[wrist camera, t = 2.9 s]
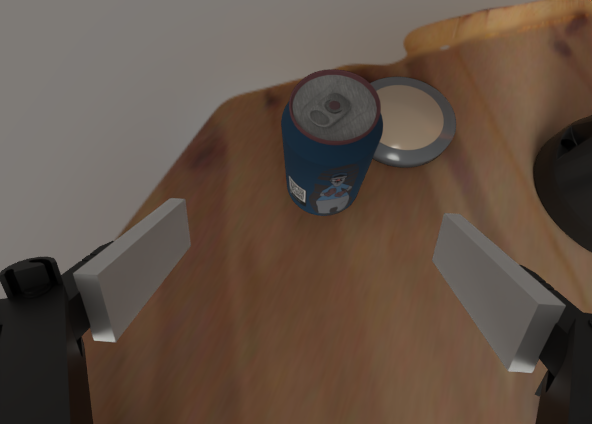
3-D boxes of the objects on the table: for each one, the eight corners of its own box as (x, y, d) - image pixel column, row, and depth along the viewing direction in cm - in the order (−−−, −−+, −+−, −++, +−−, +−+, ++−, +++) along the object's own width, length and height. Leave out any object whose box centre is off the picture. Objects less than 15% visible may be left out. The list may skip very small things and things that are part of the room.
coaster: (429, 78, 34) (434, 69, 33) (466, 157, 30) (473, 150, 29) (338, 93, 34) (339, 84, 32) (364, 175, 30) (366, 169, 29)
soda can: (322, 146, 31) (334, 46, 20) (370, 189, 29) (414, 105, 18) (273, 186, 30) (256, 101, 18) (321, 234, 28) (335, 172, 16)
